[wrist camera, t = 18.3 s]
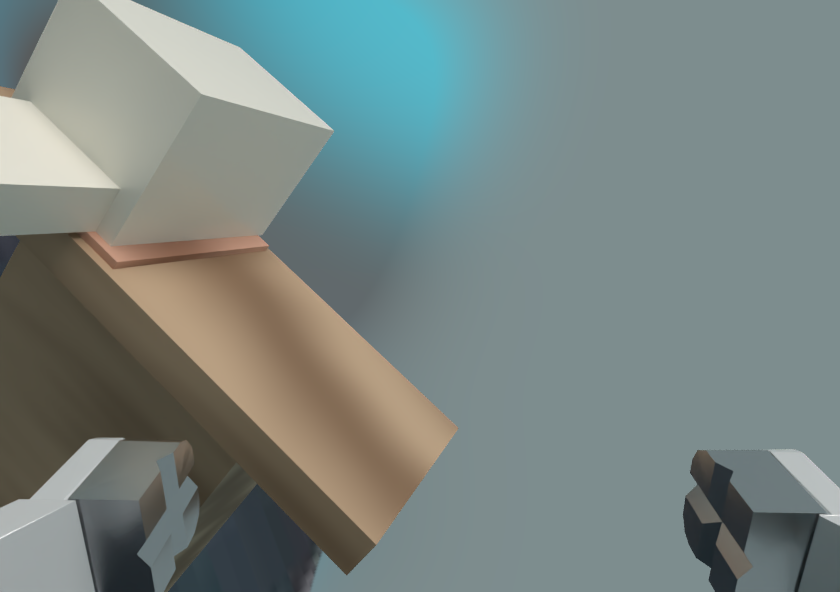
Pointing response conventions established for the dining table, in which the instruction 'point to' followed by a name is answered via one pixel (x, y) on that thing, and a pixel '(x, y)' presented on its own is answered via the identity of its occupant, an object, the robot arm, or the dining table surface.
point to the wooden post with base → (208, 383)
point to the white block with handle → (147, 132)
